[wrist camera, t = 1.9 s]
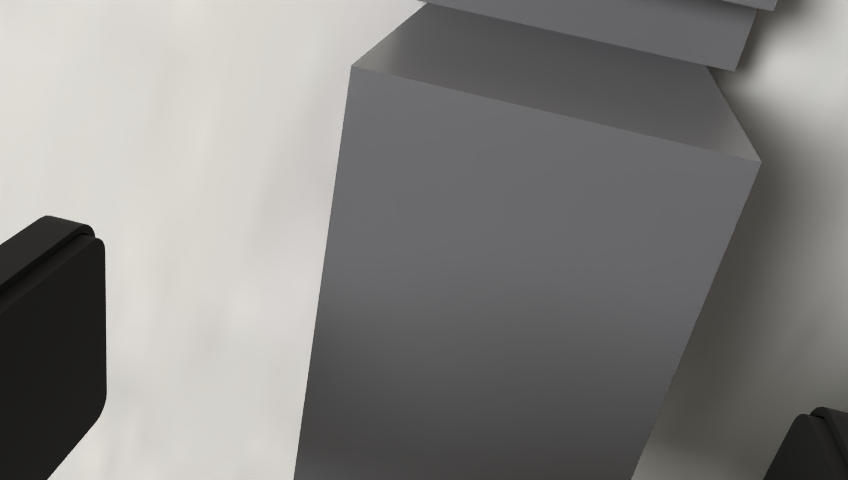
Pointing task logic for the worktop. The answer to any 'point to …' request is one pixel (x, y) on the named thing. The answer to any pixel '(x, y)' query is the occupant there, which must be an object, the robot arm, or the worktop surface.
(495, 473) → the grey sliding block
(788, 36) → the worktop surface
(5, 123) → the worktop surface
